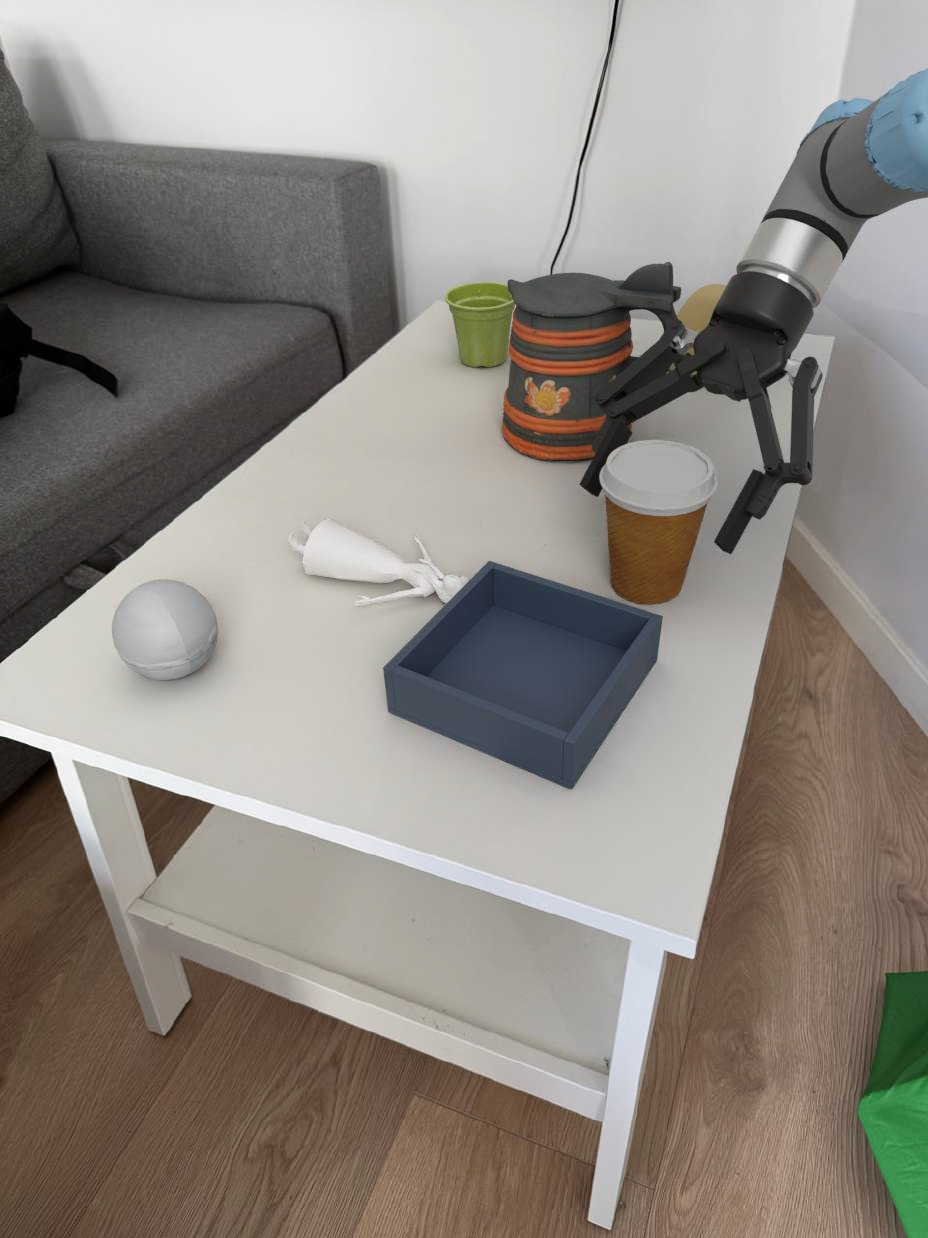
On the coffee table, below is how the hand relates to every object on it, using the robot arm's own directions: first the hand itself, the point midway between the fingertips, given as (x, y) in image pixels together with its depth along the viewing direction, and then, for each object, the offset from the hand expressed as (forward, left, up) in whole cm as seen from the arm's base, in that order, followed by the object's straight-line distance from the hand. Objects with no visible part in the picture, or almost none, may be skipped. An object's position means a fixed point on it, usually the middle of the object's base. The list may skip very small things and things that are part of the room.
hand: (652, 518), depth 77 cm
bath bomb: (+29, +29, -7) cm, 41 cm away
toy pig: (+11, -46, -7) cm, 48 cm away
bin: (+3, +17, -7) cm, 19 cm away
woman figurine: (+21, +11, -7) cm, 25 cm away
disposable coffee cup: (0, 0, -7) cm, 7 cm away
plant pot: (+38, -36, -7) cm, 53 cm away
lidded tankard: (+17, -23, -7) cm, 29 cm away
